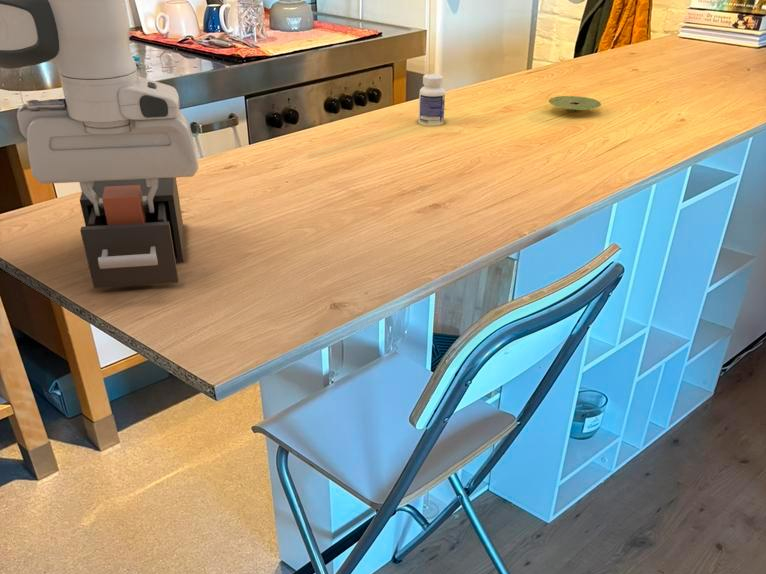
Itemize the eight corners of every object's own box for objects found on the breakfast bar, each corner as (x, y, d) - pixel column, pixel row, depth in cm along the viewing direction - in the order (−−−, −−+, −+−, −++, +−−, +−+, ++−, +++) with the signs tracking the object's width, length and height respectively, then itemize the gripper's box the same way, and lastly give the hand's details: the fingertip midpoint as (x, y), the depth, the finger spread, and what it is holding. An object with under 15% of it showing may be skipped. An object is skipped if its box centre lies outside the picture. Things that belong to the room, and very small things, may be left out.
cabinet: (183, 263, 115) (173, 194, 109) (95, 269, 113) (79, 200, 107) (183, 227, 125) (173, 162, 119) (102, 232, 123) (88, 166, 117)
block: (109, 233, 105) (102, 198, 102) (111, 220, 108) (104, 186, 106) (145, 231, 106) (138, 196, 103) (146, 218, 109) (140, 184, 106)
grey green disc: (551, 102, 183) (552, 93, 181) (602, 107, 180) (603, 97, 179) (543, 116, 174) (545, 106, 173) (596, 121, 172) (598, 111, 171)
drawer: (178, 296, 105) (168, 237, 100) (91, 302, 103) (76, 243, 98) (178, 245, 117) (169, 190, 112) (100, 250, 116) (88, 195, 111)
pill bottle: (446, 126, 168) (449, 78, 162) (422, 127, 167) (423, 79, 161) (439, 119, 172) (441, 72, 166) (415, 120, 171) (417, 73, 165)
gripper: (8, 107, 93) (39, 226, 102) (189, 101, 96) (204, 217, 105) (16, 93, 98) (45, 208, 107) (189, 88, 101) (203, 200, 110)
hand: (125, 213), depth 106 cm, fingers closed on block, 4 cm apart
